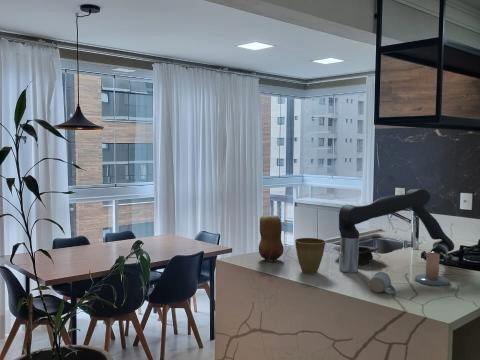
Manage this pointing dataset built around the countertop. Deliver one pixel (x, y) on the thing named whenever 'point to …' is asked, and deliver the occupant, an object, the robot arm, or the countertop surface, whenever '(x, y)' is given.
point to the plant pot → (309, 254)
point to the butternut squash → (270, 238)
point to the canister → (432, 266)
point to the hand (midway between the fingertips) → (434, 259)
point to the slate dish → (440, 282)
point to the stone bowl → (363, 254)
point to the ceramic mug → (381, 283)
